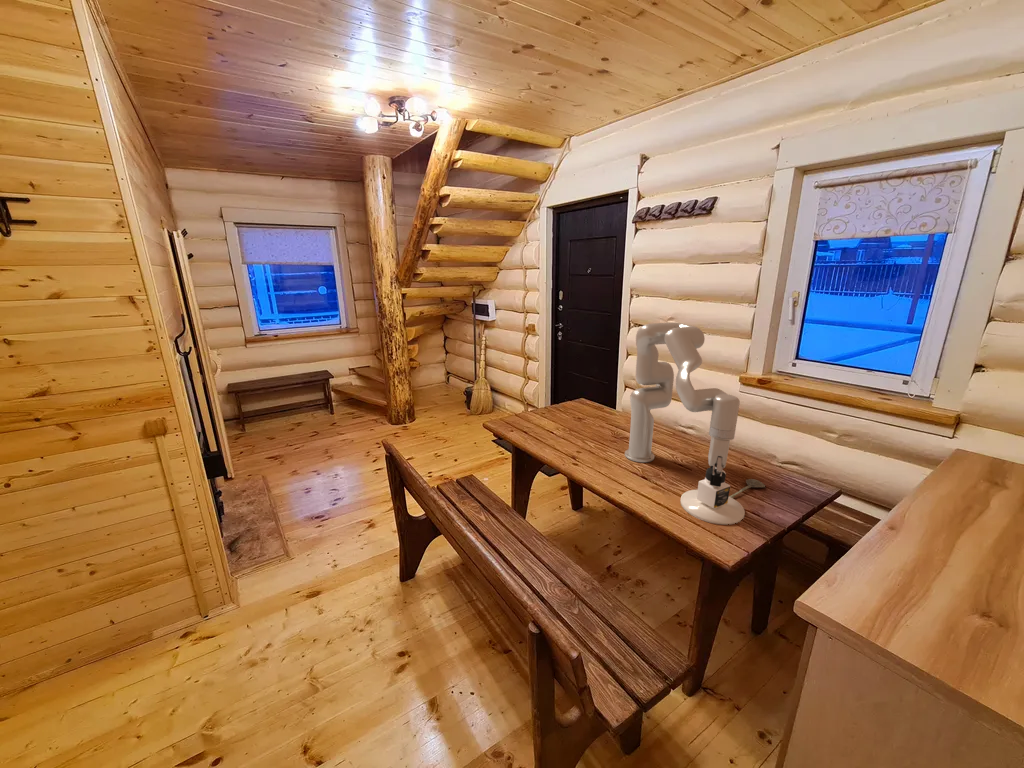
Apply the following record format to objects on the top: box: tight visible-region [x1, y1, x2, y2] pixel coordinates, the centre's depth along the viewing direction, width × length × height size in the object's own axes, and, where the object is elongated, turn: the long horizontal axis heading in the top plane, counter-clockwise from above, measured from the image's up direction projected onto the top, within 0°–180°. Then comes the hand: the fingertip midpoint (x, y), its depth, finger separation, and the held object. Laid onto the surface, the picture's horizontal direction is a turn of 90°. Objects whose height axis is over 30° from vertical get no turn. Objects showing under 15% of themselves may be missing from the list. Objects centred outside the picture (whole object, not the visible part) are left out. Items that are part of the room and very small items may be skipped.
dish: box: [680, 489, 746, 526], centre depth 140 cm, size 20×20×1 cm
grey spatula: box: [729, 478, 766, 499], centre depth 151 cm, size 22×3×7 cm
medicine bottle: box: [697, 467, 731, 509], centre depth 138 cm, size 7×7×12 cm
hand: (714, 480), depth 138 cm, fingers closed on medicine bottle, 6 cm apart
